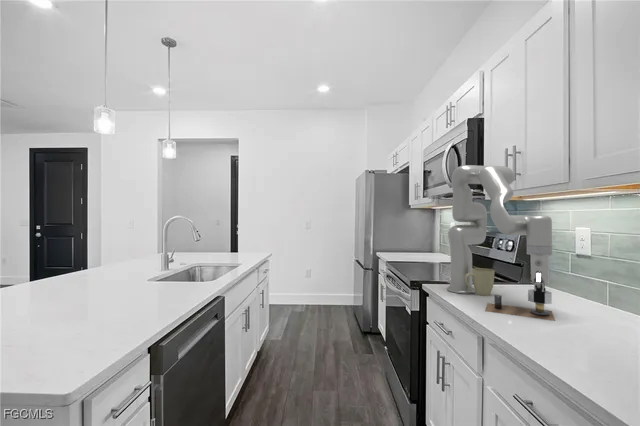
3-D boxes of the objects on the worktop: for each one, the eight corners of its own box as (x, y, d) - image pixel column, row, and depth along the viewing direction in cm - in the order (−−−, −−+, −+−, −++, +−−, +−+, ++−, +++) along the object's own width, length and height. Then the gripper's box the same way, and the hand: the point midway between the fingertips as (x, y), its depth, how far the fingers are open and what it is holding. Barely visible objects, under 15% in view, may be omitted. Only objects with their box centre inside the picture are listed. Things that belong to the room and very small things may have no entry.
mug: (475, 293, 151) (475, 267, 152) (498, 297, 144) (498, 270, 144) (464, 296, 144) (464, 269, 145) (487, 301, 137) (487, 272, 137)
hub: (526, 312, 117) (526, 296, 117) (539, 310, 119) (539, 295, 119) (540, 316, 112) (540, 300, 112) (553, 315, 113) (553, 299, 113)
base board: (484, 314, 119) (484, 311, 119) (487, 305, 130) (487, 302, 130) (555, 324, 108) (555, 320, 108) (552, 314, 119) (552, 310, 119)
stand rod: (493, 307, 123) (492, 295, 123) (498, 307, 123) (498, 294, 124) (497, 309, 121) (497, 296, 121) (503, 309, 121) (503, 296, 121)
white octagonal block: (523, 299, 118) (523, 289, 118) (540, 298, 119) (540, 289, 119) (539, 304, 111) (539, 294, 111) (556, 303, 112) (556, 293, 112)
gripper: (551, 253, 106) (552, 308, 106) (552, 249, 120) (553, 297, 120) (524, 252, 111) (525, 304, 110) (528, 248, 125) (529, 294, 124)
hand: (539, 300), depth 115 cm, fingers closed on white octagonal block, 6 cm apart
